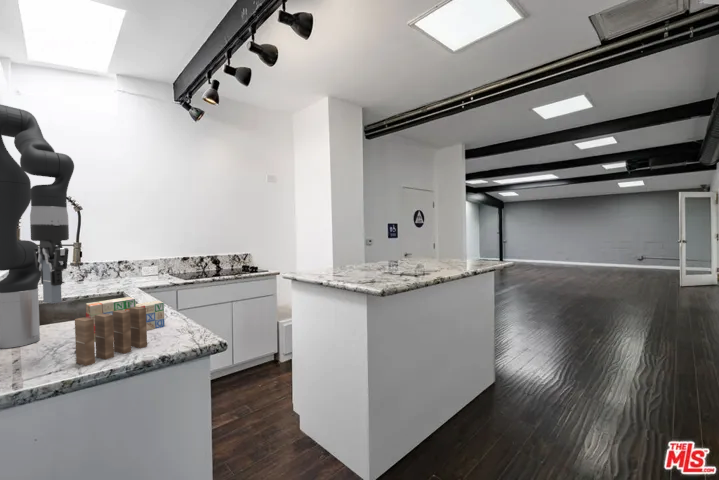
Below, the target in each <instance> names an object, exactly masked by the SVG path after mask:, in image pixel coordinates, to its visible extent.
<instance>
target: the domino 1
mask: <svg viewBox="0 0 719 480" xmlns="http://www.w3.org/2000/svg"><path fill="white" fill-rule="evenodd" d="M51 260H54V259H51ZM53 264H54V263H53ZM58 265H59V263H58ZM42 271H43V284H42V291H43V292H42V296H43V297H42V298H43V299H42V300H43V303H49V304H57V303H62V302H63V301H62V284H61V285H56V286H53V285H51V278H50V272H51V271H50V267H49V264H47V263H46V260H44V259H43V268H42Z"/></svg>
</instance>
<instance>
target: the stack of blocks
mask: <svg viewBox="0 0 719 480" xmlns="http://www.w3.org/2000/svg"><path fill="white" fill-rule="evenodd" d="M136 306H137V307H144V308H146V325H147V331H150V330H151V331H152V330H155V329H159V327H160V328H164V327H165V303H164V302H163V301H160V300H152V301H145V302H141V303H140V302H139V303H136V298H134V297H130V296H126V297H120V298H113V299H111V298H110V299H107V300H99V301H93V302H87V303H85V310H86V311H85V318H90V319H94V343H96V340H95V315H97V314H102V313H104V314H110V315H113V311H116V310H125V311H129V308H131V307H136ZM113 339H114V335H113Z"/></svg>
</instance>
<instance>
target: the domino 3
mask: <svg viewBox="0 0 719 480" xmlns="http://www.w3.org/2000/svg"><path fill="white" fill-rule="evenodd" d="M95 340H96V342H95V358H99V359H102V360H109V359H111V358H114V357H115V351H114V338H113V315H110V314H104V313H102V314H97V315H95Z"/></svg>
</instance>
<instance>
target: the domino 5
mask: <svg viewBox="0 0 719 480" xmlns="http://www.w3.org/2000/svg"><path fill="white" fill-rule="evenodd" d="M129 311H130V326H131V348H137V349H143V348H146V347H148V333H147V331H148V330H147V325H146V308H144V307H137V306H136V307H131V308H129Z"/></svg>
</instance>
